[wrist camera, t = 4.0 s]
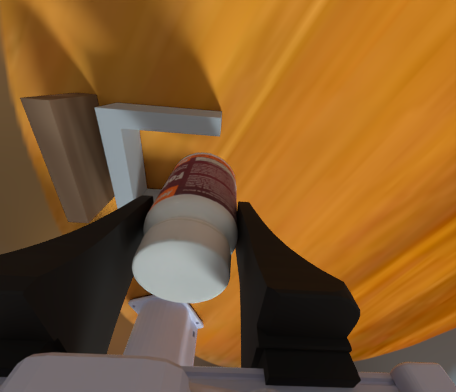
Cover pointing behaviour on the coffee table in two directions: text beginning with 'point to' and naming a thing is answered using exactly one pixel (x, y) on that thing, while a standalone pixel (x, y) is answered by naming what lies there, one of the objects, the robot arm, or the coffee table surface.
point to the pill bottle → (190, 232)
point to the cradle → (131, 143)
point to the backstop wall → (72, 151)
